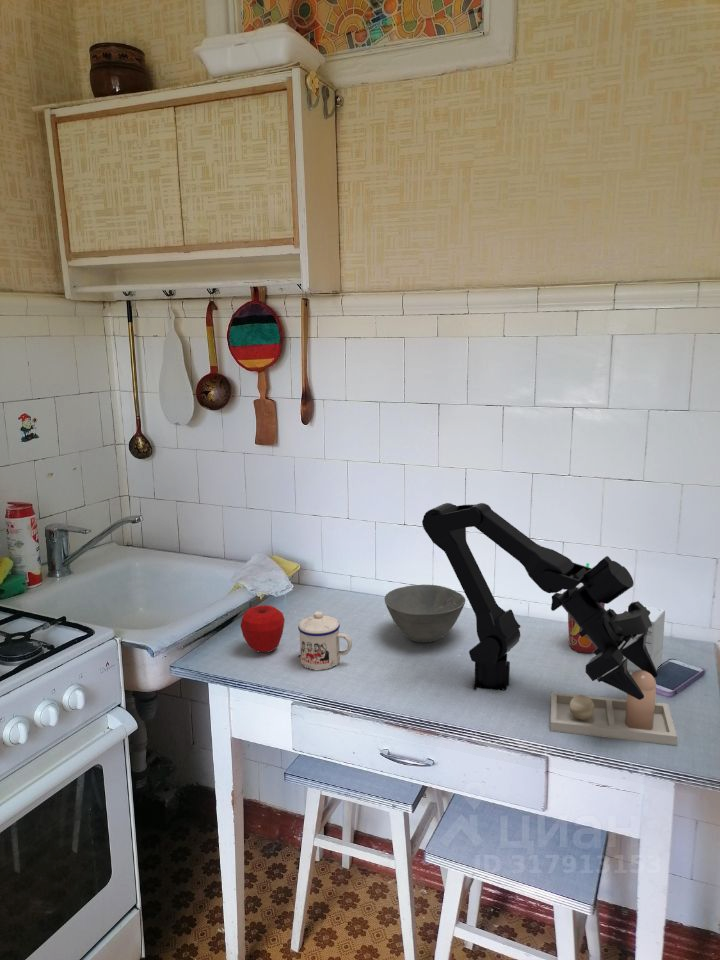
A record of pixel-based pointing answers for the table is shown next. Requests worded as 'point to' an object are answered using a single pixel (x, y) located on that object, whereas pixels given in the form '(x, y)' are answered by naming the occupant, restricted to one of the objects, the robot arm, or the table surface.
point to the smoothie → (574, 637)
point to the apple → (262, 627)
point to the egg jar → (641, 702)
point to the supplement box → (652, 638)
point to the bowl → (424, 610)
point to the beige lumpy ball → (581, 707)
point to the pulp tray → (610, 720)
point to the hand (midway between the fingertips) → (649, 687)
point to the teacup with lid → (321, 641)
